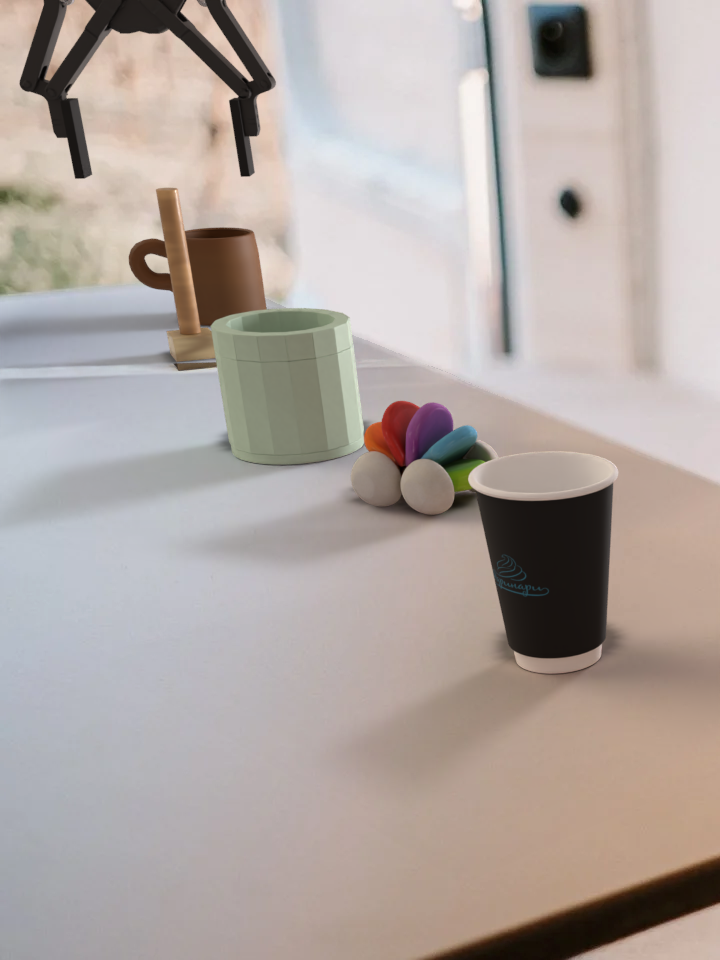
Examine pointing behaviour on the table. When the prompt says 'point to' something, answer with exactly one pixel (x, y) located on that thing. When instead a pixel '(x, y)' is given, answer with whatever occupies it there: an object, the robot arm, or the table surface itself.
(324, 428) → the jar
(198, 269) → the mug
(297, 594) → the table surface
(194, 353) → the brush
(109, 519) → the table surface
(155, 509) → the table surface
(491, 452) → the rainbow petal wheeled toy
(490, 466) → the dixie cup
